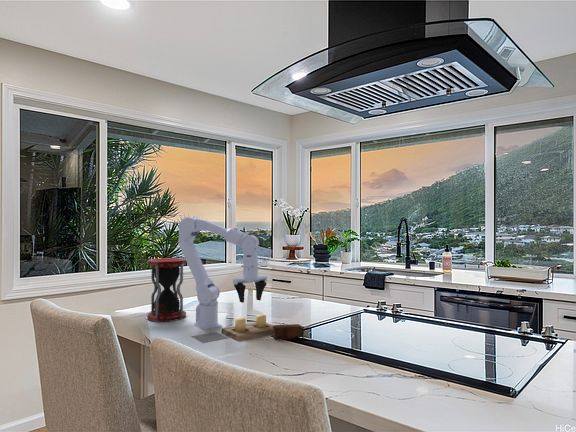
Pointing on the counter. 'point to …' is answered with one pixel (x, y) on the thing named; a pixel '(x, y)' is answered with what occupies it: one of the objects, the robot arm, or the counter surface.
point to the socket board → (248, 331)
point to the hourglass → (166, 289)
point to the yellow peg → (240, 325)
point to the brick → (287, 331)
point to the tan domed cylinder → (260, 321)
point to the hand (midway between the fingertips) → (250, 301)
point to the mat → (209, 337)
